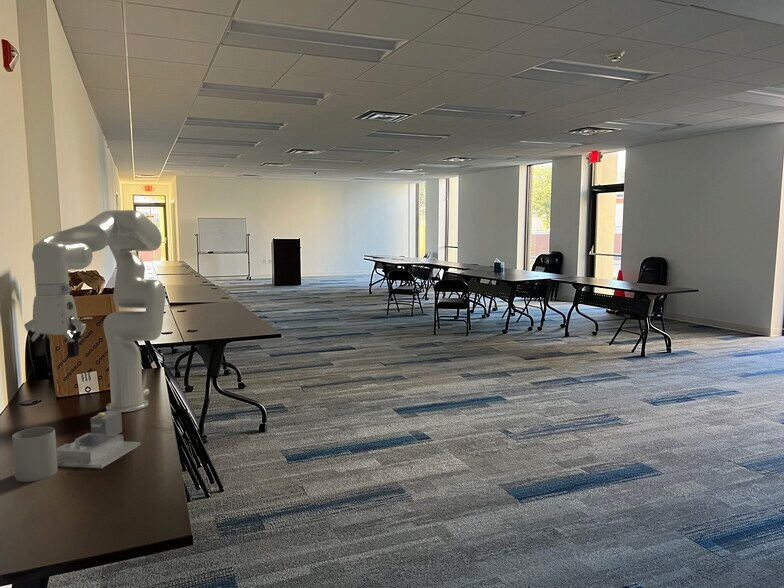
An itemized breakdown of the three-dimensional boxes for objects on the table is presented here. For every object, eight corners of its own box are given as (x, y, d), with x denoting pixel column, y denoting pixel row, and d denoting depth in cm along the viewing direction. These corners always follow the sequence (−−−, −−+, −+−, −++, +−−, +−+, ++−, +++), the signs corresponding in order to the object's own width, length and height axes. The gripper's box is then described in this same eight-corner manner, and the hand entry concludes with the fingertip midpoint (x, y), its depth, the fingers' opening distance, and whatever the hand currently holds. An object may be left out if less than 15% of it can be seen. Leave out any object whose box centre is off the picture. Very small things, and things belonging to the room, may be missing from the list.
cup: (65, 469, 136) (63, 428, 135) (34, 483, 129) (30, 440, 128) (39, 465, 139) (36, 425, 138) (6, 478, 131) (3, 436, 130)
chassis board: (79, 442, 155) (78, 430, 155) (140, 445, 152) (139, 433, 152) (34, 464, 139) (33, 452, 139) (101, 468, 137) (100, 455, 136)
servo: (110, 430, 165) (109, 406, 165) (124, 430, 165) (123, 406, 164) (88, 440, 156) (87, 415, 156) (103, 441, 156) (102, 416, 155)
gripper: (92, 289, 150) (96, 354, 151) (34, 289, 153) (39, 352, 154) (71, 292, 142) (76, 359, 144) (11, 291, 145) (16, 358, 147)
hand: (57, 356), depth 149 cm, fingers open, 9 cm apart
